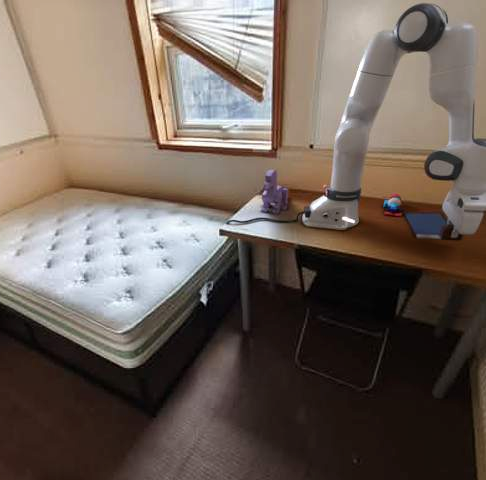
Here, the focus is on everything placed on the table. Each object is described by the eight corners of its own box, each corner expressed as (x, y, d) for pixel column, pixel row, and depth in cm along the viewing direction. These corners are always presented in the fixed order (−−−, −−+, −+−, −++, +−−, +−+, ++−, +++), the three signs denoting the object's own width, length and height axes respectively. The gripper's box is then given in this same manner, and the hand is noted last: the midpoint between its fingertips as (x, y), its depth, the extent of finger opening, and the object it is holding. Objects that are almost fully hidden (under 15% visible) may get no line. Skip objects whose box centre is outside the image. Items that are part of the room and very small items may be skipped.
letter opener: (458, 237, 112) (463, 224, 109) (461, 240, 110) (466, 228, 107) (415, 235, 115) (419, 223, 112) (417, 238, 113) (421, 226, 110)
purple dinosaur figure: (254, 215, 149) (253, 173, 138) (274, 195, 166) (275, 157, 155) (278, 218, 143) (279, 176, 133) (297, 197, 160) (299, 158, 150)
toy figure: (402, 220, 135) (403, 200, 144) (404, 209, 132) (405, 190, 141) (381, 219, 138) (384, 200, 148) (382, 209, 135) (385, 190, 144)
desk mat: (416, 237, 120) (417, 236, 120) (404, 214, 136) (404, 213, 136) (457, 238, 117) (457, 237, 117) (440, 214, 133) (440, 213, 132)
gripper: (444, 183, 112) (432, 220, 120) (466, 207, 96) (450, 248, 103) (466, 183, 110) (451, 220, 118) (491, 208, 94) (473, 249, 102)
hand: (451, 233), depth 111 cm, fingers closed on letter opener, 2 cm apart
